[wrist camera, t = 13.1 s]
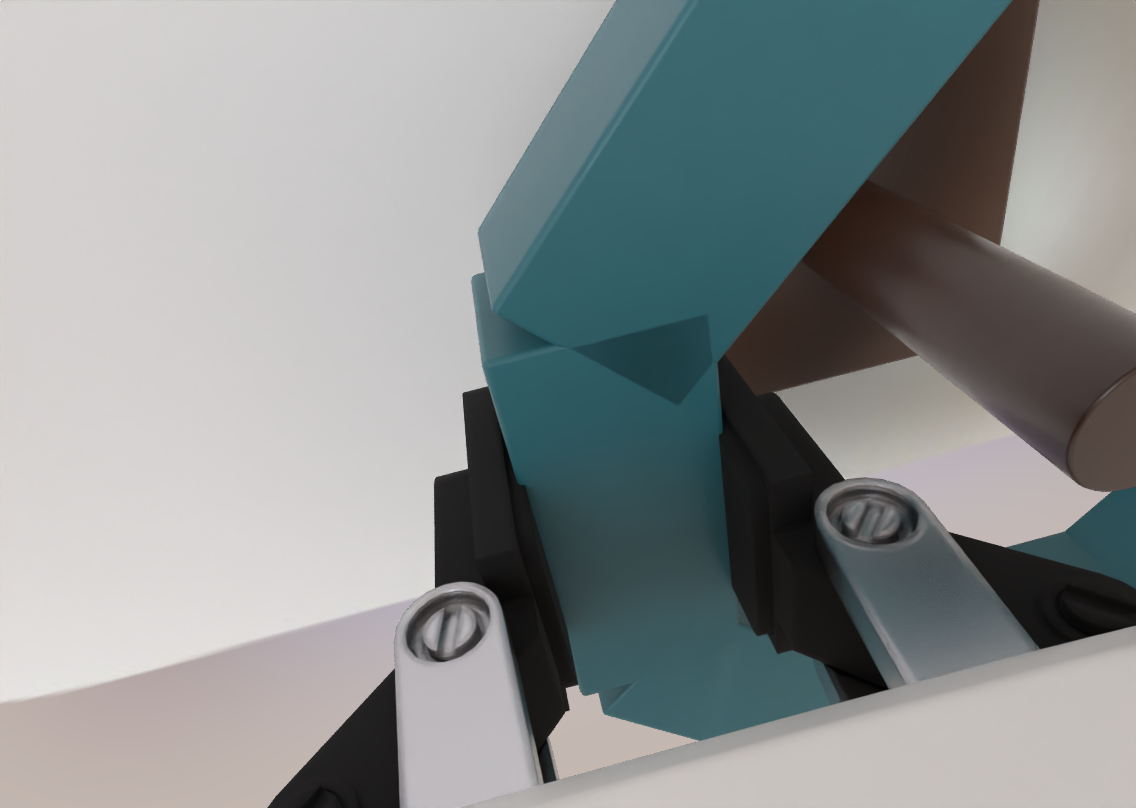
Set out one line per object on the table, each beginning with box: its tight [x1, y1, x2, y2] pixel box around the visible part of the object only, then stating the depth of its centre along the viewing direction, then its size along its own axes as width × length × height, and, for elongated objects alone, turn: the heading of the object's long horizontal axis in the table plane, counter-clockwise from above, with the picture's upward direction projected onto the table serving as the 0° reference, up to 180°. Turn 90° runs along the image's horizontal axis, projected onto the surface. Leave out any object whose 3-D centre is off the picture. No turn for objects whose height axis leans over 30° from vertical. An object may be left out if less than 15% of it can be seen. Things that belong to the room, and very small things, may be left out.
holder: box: [725, 0, 1136, 492], centre depth 14 cm, size 9×9×10 cm
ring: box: [471, 0, 1136, 741], centre depth 11 cm, size 18×18×3 cm
